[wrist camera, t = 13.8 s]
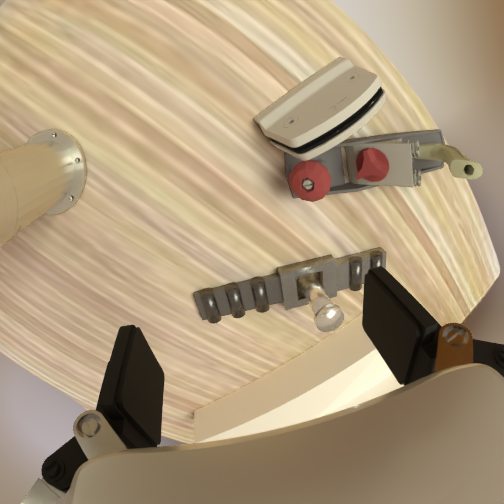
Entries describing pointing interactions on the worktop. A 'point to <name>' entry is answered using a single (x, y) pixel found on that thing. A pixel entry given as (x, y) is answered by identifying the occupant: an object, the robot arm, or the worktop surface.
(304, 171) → the hand plane
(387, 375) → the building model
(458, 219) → the worktop surface
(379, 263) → the knobbed grey strip
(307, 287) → the pin
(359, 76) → the beige arched grooved block
